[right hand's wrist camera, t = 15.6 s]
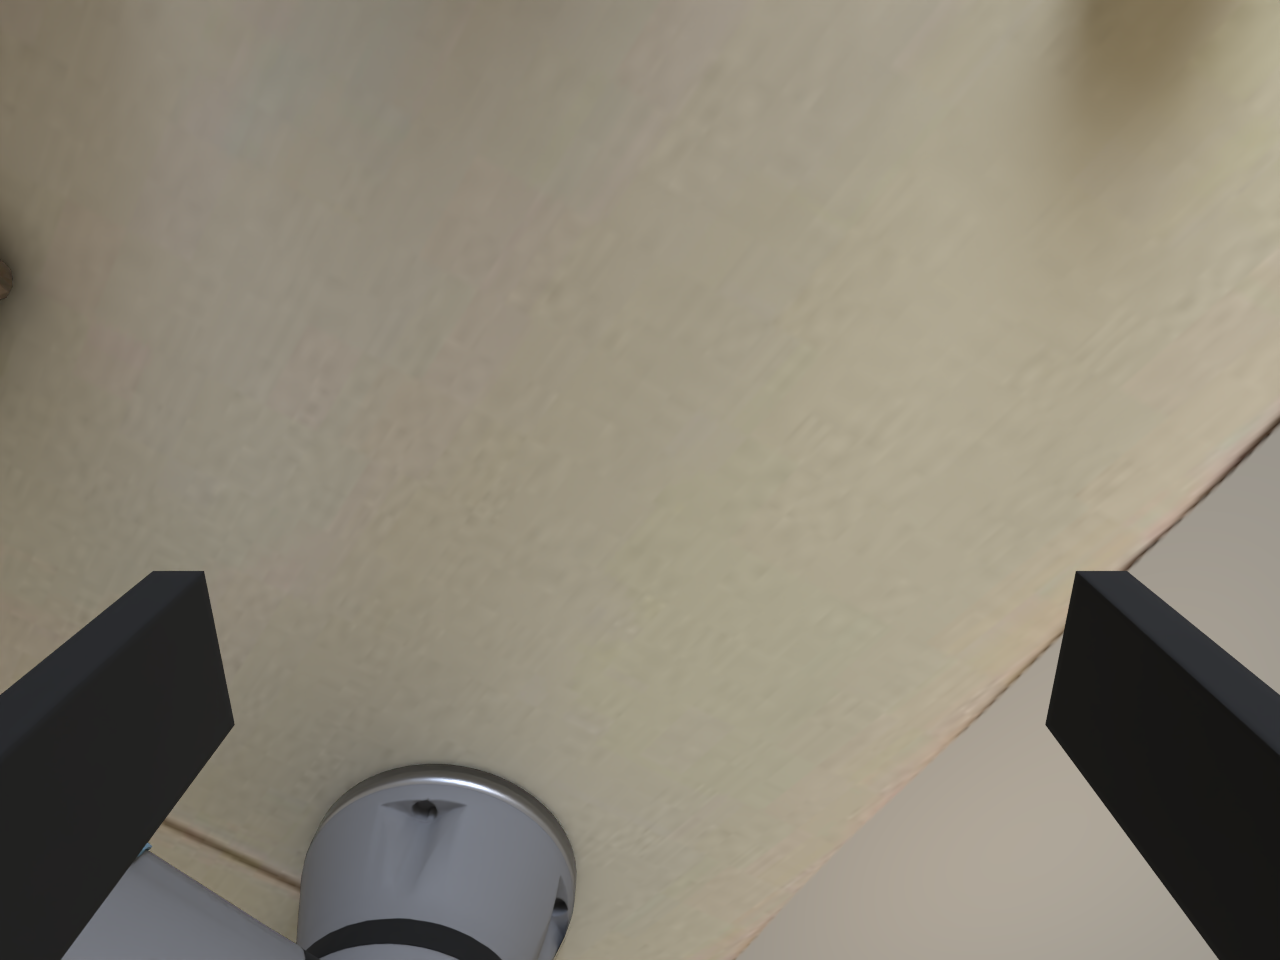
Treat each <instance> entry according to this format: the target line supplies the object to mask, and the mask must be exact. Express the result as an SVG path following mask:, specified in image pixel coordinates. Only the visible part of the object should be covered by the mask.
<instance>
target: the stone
mask: <svg viewBox="0 0 1280 960" xmlns="http://www.w3.org/2000/svg"><path fill="white" fill-rule="evenodd" d="M12 280H13V278H12V273H11V269H10V268H9V267H8V266H7V265H6V264H5V263H4V262H3V261H1V260H0V300H1V299H4V298H6V297H7V295H8V293H9V292H10V290H11V288H12Z"/></svg>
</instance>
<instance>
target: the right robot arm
mask: <svg viewBox="0 0 1280 960" xmlns="http://www.w3.org/2000/svg"><path fill="white" fill-rule="evenodd" d="M234 725H235V724H234V719H233V714H232V709H231V704H230V699H229V694H228V689H227V684H226V679H225V674H224V669H223V664H222V659H221V654H220V649H219V644H218V639H217V634H216V629H215V624H214V619H213V614H212V609H211V604H210V599H209V594H208V589H207V584H206V579H205V574H204V571H153V572H151V573H150V574H149V575H148V576H146V577H145V578H144V579H143V580H142V581H140V582H139V583H138V584H137V585H135V586H134V587H133V588H132V589H130V590H129V591H128V592H127V593H125V594H124V595H123V596H122V597H121V598H119V599H118V600H117V601H116V602H114V603H113V604H112V605H111V606H109V607H108V608H107V609H106V610H105V611H103V612H102V613H101V614H100V615H98V616H97V617H96V618H95V619H93V620H92V621H91V622H90V623H89V624H87V625H86V626H85V627H84V628H82V629H81V630H80V631H79V632H77V633H76V634H75V635H74V636H73V637H71V638H70V639H69V640H68V641H66V642H65V643H64V644H63V645H61V646H60V647H59V648H58V649H56V650H55V651H54V652H53V653H52V654H50V655H49V656H48V657H47V658H45V659H44V660H43V661H42V662H40V663H39V664H38V665H37V666H36V667H34V668H33V669H32V670H31V671H29V672H28V673H27V674H26V675H24V676H23V677H22V678H21V679H20V680H18V681H17V682H16V683H15V684H13V685H12V686H11V687H10V688H8V689H7V690H6V691H5V692H3V693H2V694H1V695H0V960H553V959H554V957H555V955H556V953H557V951H558V949H559V947H560V945H561V943H562V941H563V939H564V937H565V934H566V931H567V929H568V926H569V923H570V920H571V917H572V913H573V907H574V899H575V888H576V863H575V858H574V854H573V850H572V847H571V845H570V842H569V840H568V838H567V836H566V834H565V832H564V830H563V829H562V827H561V825H560V824H559V822H558V821H557V820H556V819H555V817H554V816H553V815H552V814H551V812H550V811H549V810H548V809H547V808H546V807H545V806H544V805H543V804H541V803H540V802H539V801H538V800H537V799H536V798H534V797H533V796H532V795H530V794H529V793H527V792H526V791H525V790H523V789H521V788H520V787H518V786H516V785H515V784H513V783H511V782H509V781H507V780H505V779H502V778H500V777H498V776H495V775H492V774H490V773H487V772H483V771H480V770H476V769H472V768H467V767H462V766H455V765H444V764H424V765H413V766H406V767H401V768H396V769H392V770H389V771H386V772H383V773H380V774H377V775H375V776H373V777H370V778H368V779H366V780H364V781H363V782H361V783H359V784H357V785H356V786H354V787H353V788H351V789H350V790H349V791H347V792H346V793H345V794H344V795H342V796H341V797H340V798H339V799H338V800H337V801H336V802H335V803H334V804H333V806H332V807H331V808H330V809H329V811H328V812H327V813H326V815H325V817H324V818H323V820H322V822H321V824H320V826H319V828H318V830H317V832H316V834H315V836H314V838H313V840H312V842H311V844H310V847H309V849H308V851H307V854H306V858H305V861H304V867H303V872H302V877H301V888H300V902H299V913H298V927H297V940H296V943H294V942H292V941H291V940H289V939H287V938H286V937H284V936H282V935H281V934H279V933H277V932H276V931H274V930H272V929H271V928H269V927H267V926H266V925H264V924H263V923H261V922H260V921H258V920H256V919H255V918H253V917H252V916H250V915H249V914H247V913H245V912H244V911H242V910H241V909H239V908H238V907H236V906H235V905H233V904H231V903H230V902H228V901H227V900H225V899H224V898H222V897H220V896H219V895H217V894H216V893H214V892H213V891H211V890H209V889H208V888H206V887H205V886H203V885H202V884H200V883H199V882H197V881H195V880H194V879H192V878H191V877H189V876H188V875H186V874H184V873H183V872H181V871H180V870H178V869H177V868H175V867H173V866H172V865H170V864H169V863H167V862H166V861H164V860H163V859H161V858H159V857H158V856H156V855H155V854H153V853H152V852H150V851H148V850H149V849H151V847H152V846H151V845H150V844H149V843H148V841H149V840H150V838H151V837H152V836H153V834H154V833H155V832H156V830H157V829H158V828H159V826H160V825H161V824H162V822H163V821H164V820H165V818H166V817H167V815H168V814H169V813H170V811H171V810H172V809H173V807H174V806H175V805H176V803H177V802H178V801H179V799H180V798H181V797H182V795H183V794H184V792H185V791H186V790H187V788H188V787H189V786H190V784H191V783H192V782H193V780H194V779H195V778H196V776H197V775H198V774H199V772H200V771H201V769H202V768H203V767H204V765H205V764H206V763H207V761H208V760H209V759H210V757H211V756H212V755H213V753H214V752H215V751H216V749H217V748H218V746H219V745H220V744H221V742H222V741H223V740H224V738H225V737H226V736H227V734H228V733H229V732H230V730H231V729H232V728H233V726H234ZM1046 726H1047V727H1048V729H1049V730H1050V732H1051V733H1052V734H1053V736H1054V737H1055V738H1056V740H1057V741H1058V742H1059V744H1060V745H1061V746H1062V748H1063V749H1064V751H1065V752H1066V753H1067V755H1068V756H1069V757H1070V759H1071V760H1072V761H1073V763H1074V764H1075V765H1076V767H1077V768H1078V769H1079V771H1080V772H1081V774H1082V775H1083V776H1084V778H1085V779H1086V780H1087V782H1088V783H1089V784H1090V786H1091V787H1092V788H1093V790H1094V791H1095V792H1096V794H1097V795H1098V797H1099V798H1100V799H1101V801H1102V802H1103V803H1104V805H1105V806H1106V807H1107V809H1108V810H1109V811H1110V813H1111V814H1112V815H1113V817H1114V818H1115V820H1116V821H1117V822H1118V824H1119V825H1120V826H1121V828H1122V829H1123V830H1124V832H1125V833H1126V834H1127V836H1128V837H1129V838H1130V840H1131V841H1132V843H1133V844H1134V845H1135V847H1136V848H1137V849H1138V851H1139V852H1140V853H1141V855H1142V856H1143V857H1144V859H1145V860H1146V861H1147V863H1148V864H1149V866H1150V867H1151V868H1152V870H1153V871H1154V872H1155V874H1156V875H1157V876H1158V878H1159V879H1160V880H1161V882H1162V883H1163V885H1164V886H1165V887H1166V889H1167V890H1168V891H1169V893H1170V894H1171V895H1172V897H1173V898H1174V899H1175V901H1176V902H1177V903H1178V905H1179V906H1180V907H1181V909H1182V910H1183V912H1184V913H1185V914H1186V916H1187V917H1188V918H1189V920H1190V921H1191V922H1192V924H1193V925H1194V926H1195V928H1196V929H1197V930H1198V932H1199V933H1200V934H1201V936H1202V937H1203V939H1204V940H1205V941H1206V943H1207V944H1208V945H1209V947H1210V948H1211V949H1212V951H1213V952H1214V954H1215V955H1216V956H1217V958H1218V959H1219V960H1280V695H1279V694H1278V693H1277V692H1275V691H1274V690H1273V689H1272V688H1270V687H1269V686H1268V685H1267V684H1265V683H1264V682H1263V681H1262V680H1260V679H1259V678H1258V677H1257V676H1255V675H1254V674H1253V673H1252V672H1251V671H1249V670H1248V669H1247V668H1246V667H1244V666H1243V665H1242V664H1241V663H1240V662H1238V661H1237V660H1236V659H1235V658H1233V657H1232V656H1231V655H1230V654H1228V653H1227V652H1226V651H1225V650H1224V649H1222V648H1221V647H1220V646H1219V645H1217V644H1216V643H1215V642H1214V641H1212V640H1211V639H1210V638H1209V637H1207V636H1206V635H1205V634H1204V633H1202V632H1201V631H1200V630H1199V629H1198V628H1196V627H1195V626H1194V625H1193V624H1191V623H1190V622H1189V621H1188V620H1187V619H1185V618H1184V617H1183V616H1182V615H1180V614H1179V613H1178V612H1177V611H1175V610H1174V609H1173V608H1172V607H1171V606H1169V605H1168V604H1167V603H1166V602H1164V601H1163V600H1162V599H1161V598H1159V597H1158V596H1157V595H1156V594H1154V593H1153V592H1152V591H1151V590H1150V589H1148V588H1147V587H1146V586H1145V585H1143V584H1142V583H1141V582H1140V581H1138V580H1137V579H1136V578H1135V577H1133V576H1132V575H1131V574H1130V573H1129V572H1127V571H1076V574H1075V579H1074V584H1073V589H1072V594H1071V599H1070V604H1069V609H1068V614H1067V619H1066V624H1065V629H1064V634H1063V639H1062V644H1061V649H1060V654H1059V659H1058V664H1057V669H1056V674H1055V679H1054V684H1053V689H1052V695H1051V699H1050V704H1049V709H1048V714H1047V720H1046ZM561 947H562V946H561ZM560 949H561V948H560ZM559 951H560V950H559ZM558 953H559V952H558ZM557 955H558V954H557ZM556 957H557V956H556ZM555 959H556V958H555Z"/></svg>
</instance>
